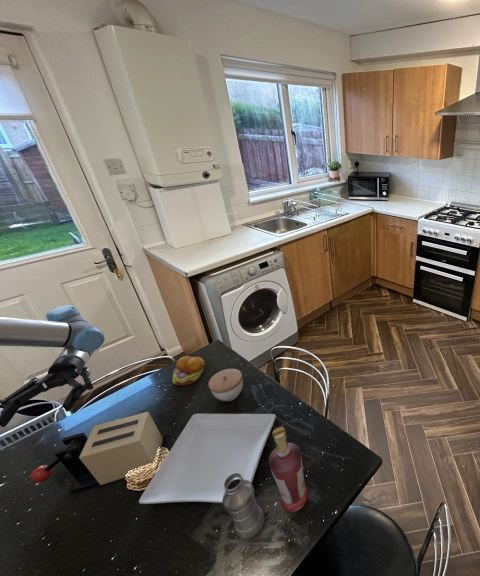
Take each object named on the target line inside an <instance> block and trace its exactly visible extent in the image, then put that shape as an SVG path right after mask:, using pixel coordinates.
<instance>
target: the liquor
mask: <svg viewBox="0 0 480 576" xmlns="http://www.w3.org/2000/svg"><path fill="white" fill-rule="evenodd" d="M272 437H273V441H274V442H275V445H276V446H275V448H274V449H273V450H272V451H271V453H270V454H269V457H268V465H269V468H270V472H271V473H272V477H273V480H274V481H275V484H276V486H277V490H278V491H279V494H280V496H281V499H280V503H281V507H282V508H283V510H285V511H287V512H289V513H294V512H297V511H300V510H301V509H302V508H303V507H304V506H305V504H306V503H307V502H308V499H309V491H308V488H307V487H306V483H305V476H304V465H303V458H302V451H301V448H300V447H299V445H298V444H295V443H293V442H288V440H287V433H286V429H285V427H284V426H277V427H275V428H274V429H273V431H272Z"/></svg>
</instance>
